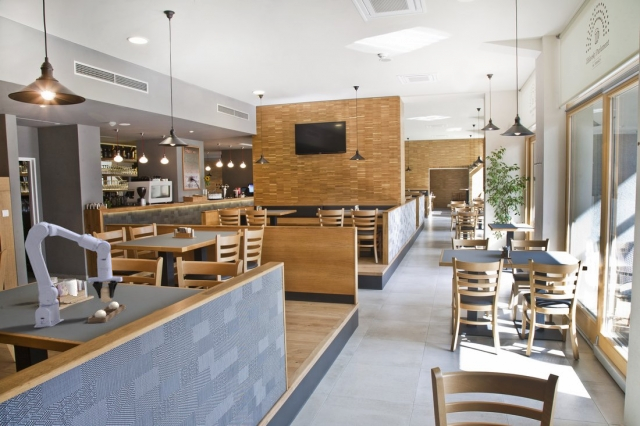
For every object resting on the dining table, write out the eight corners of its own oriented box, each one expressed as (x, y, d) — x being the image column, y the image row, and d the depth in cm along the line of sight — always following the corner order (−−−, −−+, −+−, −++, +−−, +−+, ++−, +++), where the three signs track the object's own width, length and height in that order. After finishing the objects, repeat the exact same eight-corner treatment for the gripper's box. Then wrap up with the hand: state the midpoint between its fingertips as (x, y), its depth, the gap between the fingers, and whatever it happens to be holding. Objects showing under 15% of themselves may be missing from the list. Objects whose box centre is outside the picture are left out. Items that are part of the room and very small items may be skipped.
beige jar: (109, 302, 198) (108, 287, 198) (99, 302, 198) (98, 287, 197) (113, 299, 202) (112, 284, 202) (103, 300, 202) (102, 285, 202)
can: (71, 304, 223) (70, 280, 222) (60, 303, 225) (59, 280, 224) (80, 300, 230) (79, 278, 229) (70, 300, 231) (68, 277, 230)
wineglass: (56, 298, 235) (54, 276, 235) (61, 300, 231) (59, 277, 230) (41, 301, 230) (40, 278, 229) (46, 303, 226) (45, 280, 225)
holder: (105, 323, 190) (105, 317, 190) (87, 324, 190) (87, 318, 189) (125, 309, 211) (125, 304, 211) (109, 310, 211) (109, 304, 211)
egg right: (116, 312, 205) (116, 302, 205) (107, 312, 205) (106, 303, 204) (120, 309, 209) (120, 300, 209) (111, 309, 209) (110, 300, 209)
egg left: (103, 321, 191) (103, 311, 191) (93, 321, 191) (92, 311, 191) (108, 318, 196) (107, 308, 195) (98, 318, 196) (97, 308, 195)
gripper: (124, 265, 203) (126, 295, 204) (92, 266, 203) (94, 296, 204) (118, 268, 196) (119, 298, 197) (84, 269, 196) (86, 300, 197)
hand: (106, 297), depth 200 cm, fingers closed on beige jar, 4 cm apart
